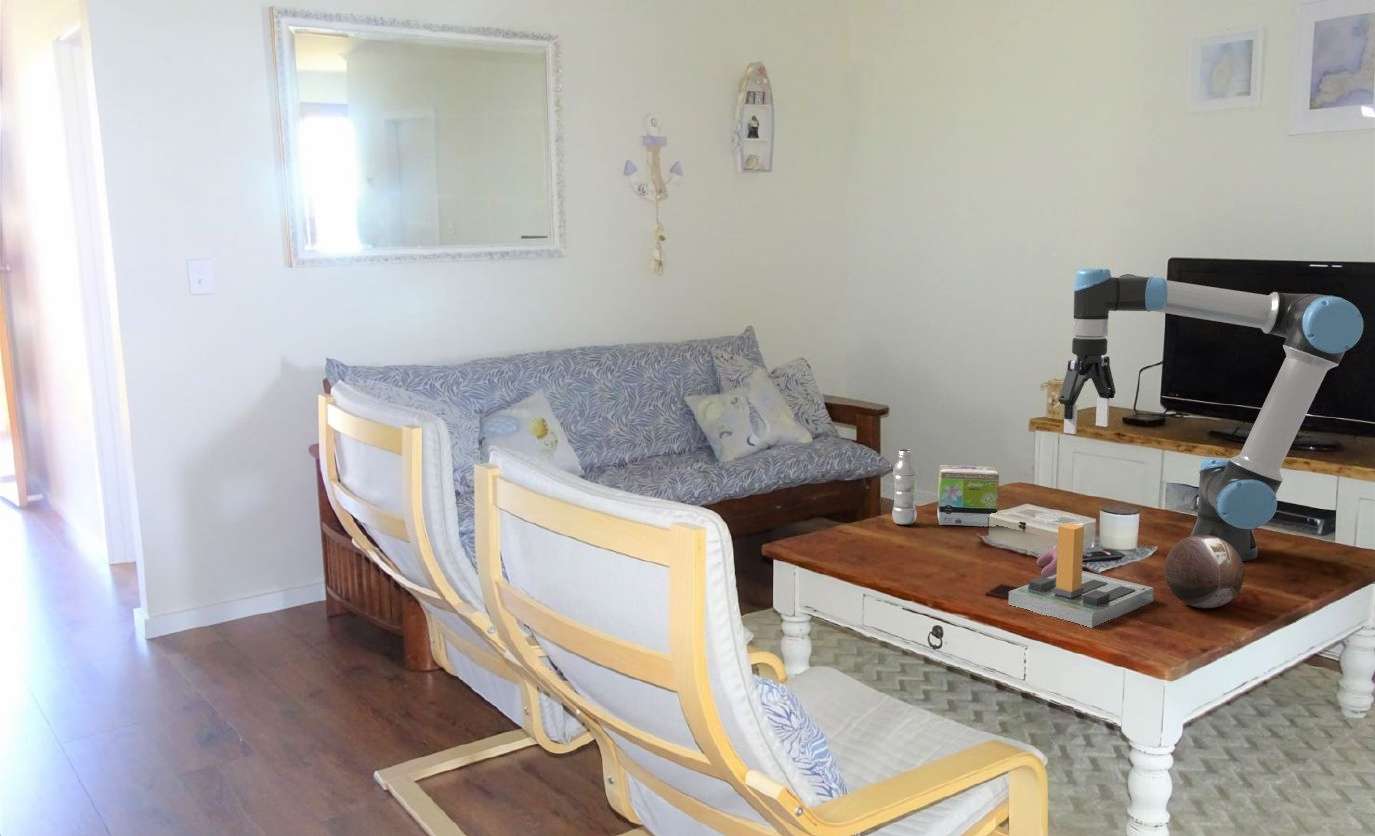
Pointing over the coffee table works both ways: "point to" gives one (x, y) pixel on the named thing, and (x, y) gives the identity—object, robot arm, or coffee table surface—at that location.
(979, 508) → the tea box
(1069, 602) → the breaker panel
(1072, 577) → the handle
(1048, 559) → the video game controller
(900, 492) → the plastic bottle
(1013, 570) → the coffee table surface
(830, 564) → the coffee table surface
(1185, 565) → the wooden sphere
